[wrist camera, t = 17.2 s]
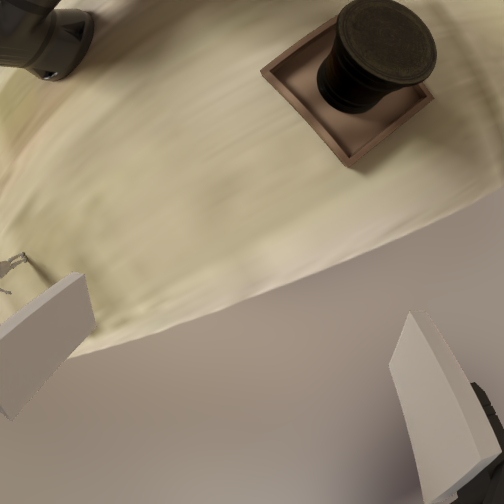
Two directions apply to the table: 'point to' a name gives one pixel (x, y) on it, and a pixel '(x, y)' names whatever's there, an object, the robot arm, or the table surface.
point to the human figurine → (9, 267)
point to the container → (374, 55)
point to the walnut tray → (325, 116)
